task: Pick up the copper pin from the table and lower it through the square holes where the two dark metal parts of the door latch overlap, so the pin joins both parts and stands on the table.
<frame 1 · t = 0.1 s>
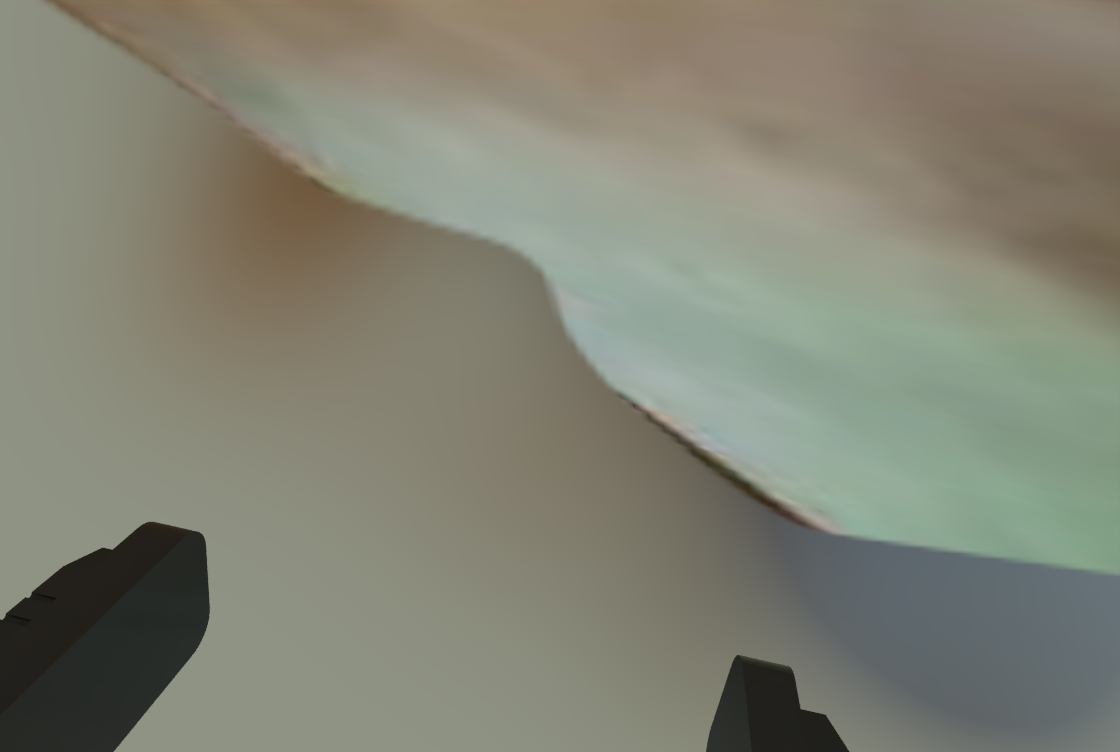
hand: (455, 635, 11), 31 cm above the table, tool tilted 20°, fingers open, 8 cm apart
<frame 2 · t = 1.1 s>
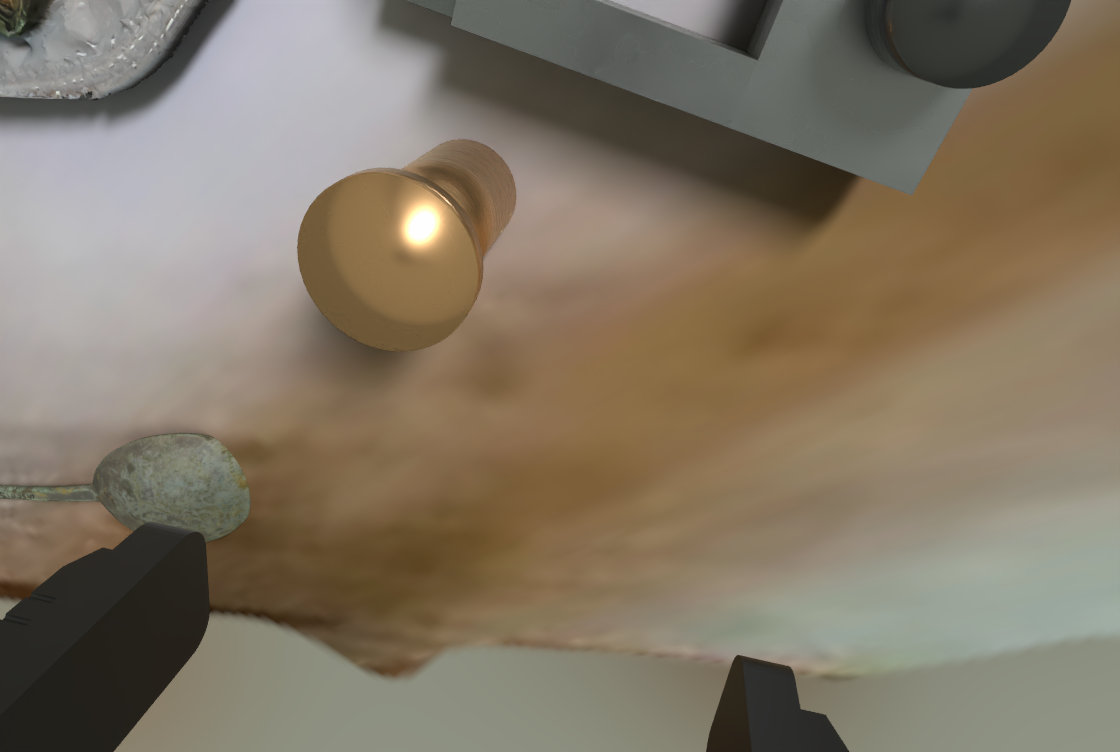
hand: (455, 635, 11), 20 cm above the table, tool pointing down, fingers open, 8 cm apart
soupspoon: (66, 469, 39), on the table
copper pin: (465, 192, 29), on the table
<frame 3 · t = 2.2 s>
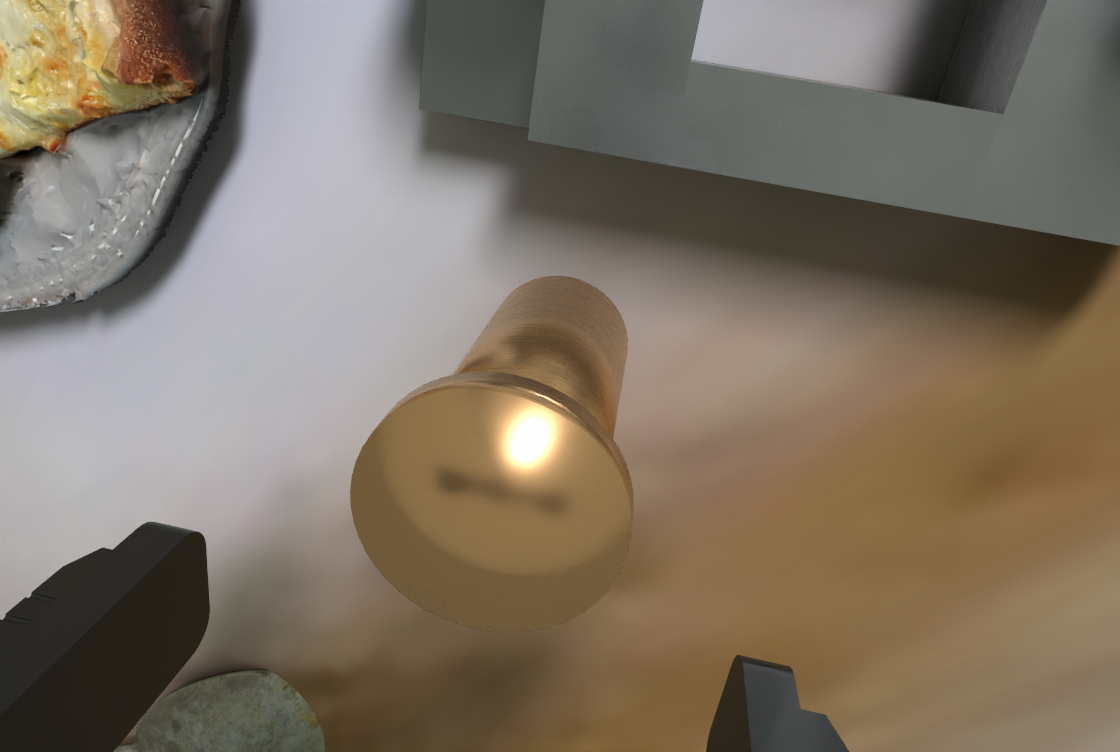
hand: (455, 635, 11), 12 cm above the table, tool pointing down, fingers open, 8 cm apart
soupspoon: (108, 719, 33), on the table
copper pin: (559, 342, 22), on the table
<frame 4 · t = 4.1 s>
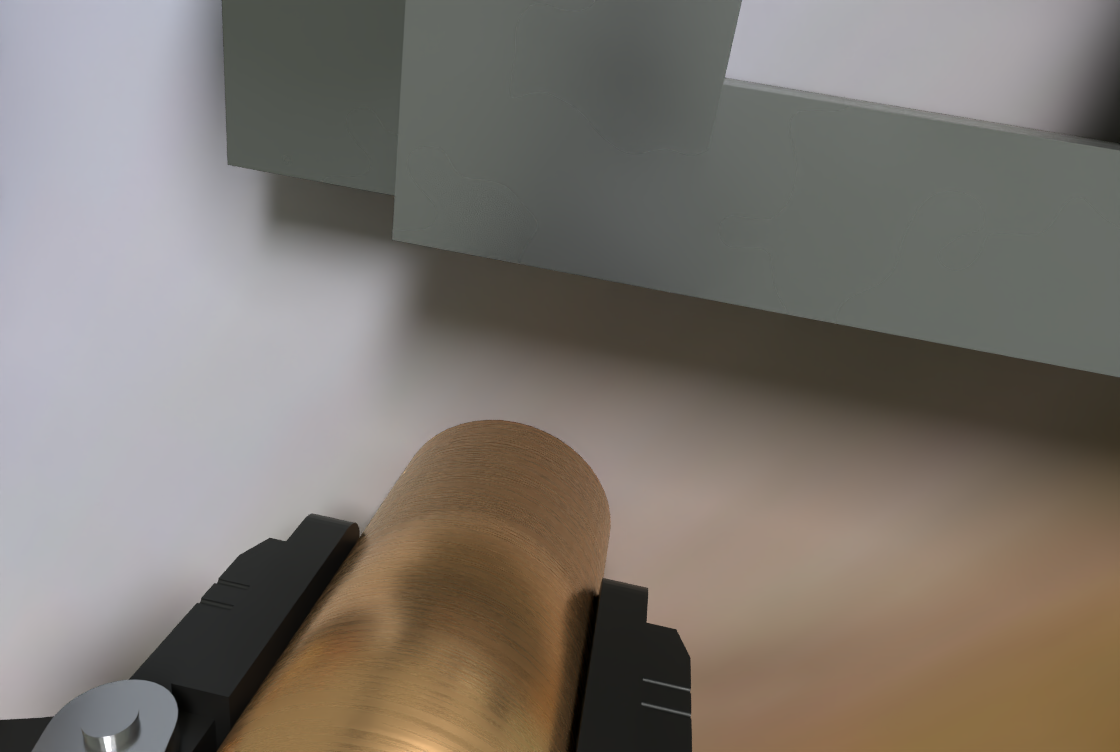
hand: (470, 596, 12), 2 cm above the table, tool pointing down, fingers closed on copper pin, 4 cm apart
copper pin: (503, 516, 14), on the table, touching gripper
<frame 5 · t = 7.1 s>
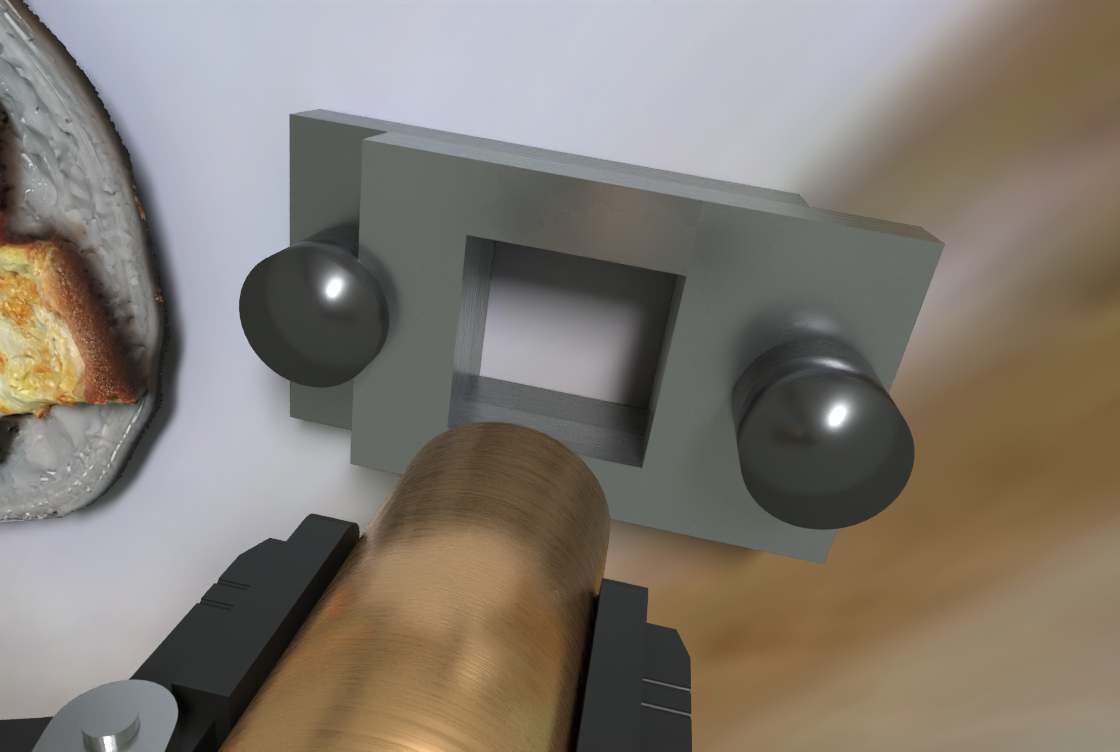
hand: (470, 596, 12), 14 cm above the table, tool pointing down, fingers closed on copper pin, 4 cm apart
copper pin: (503, 517, 14), point 12 cm above the table, touching gripper
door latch: (576, 312, 25), on the table
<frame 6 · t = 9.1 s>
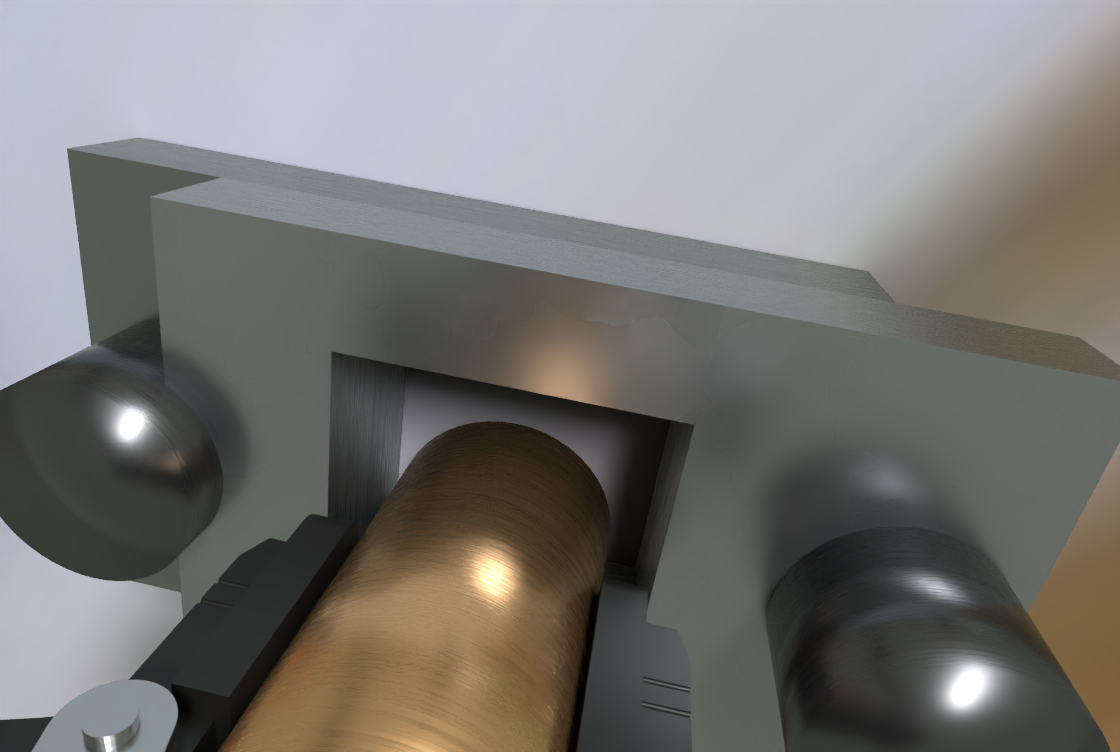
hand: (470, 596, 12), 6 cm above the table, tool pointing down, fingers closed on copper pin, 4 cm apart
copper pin: (503, 517, 14), point 3 cm above the table, touching gripper
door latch: (530, 433, 17), on the table
when the fingers open (5 cm above the table, at t = 10.0 s): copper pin drops 2 cm, resting in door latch.
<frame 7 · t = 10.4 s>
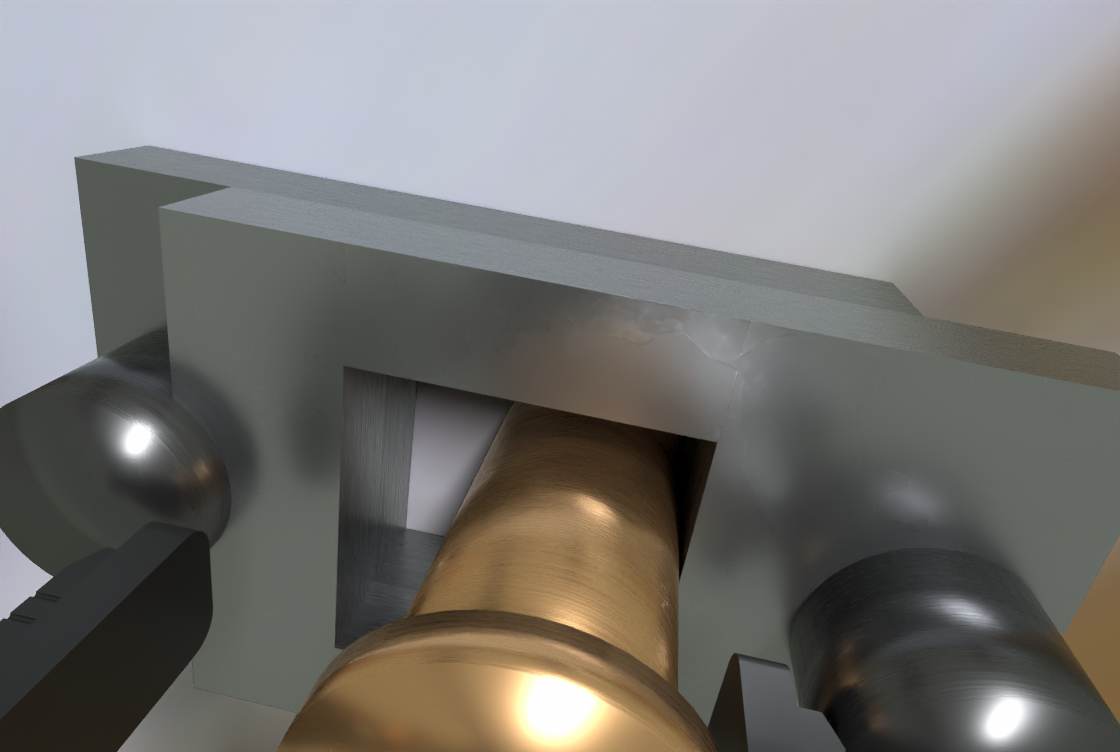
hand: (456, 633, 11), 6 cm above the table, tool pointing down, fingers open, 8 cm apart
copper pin: (588, 453, 16), resting in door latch
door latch: (543, 446, 16), on the table
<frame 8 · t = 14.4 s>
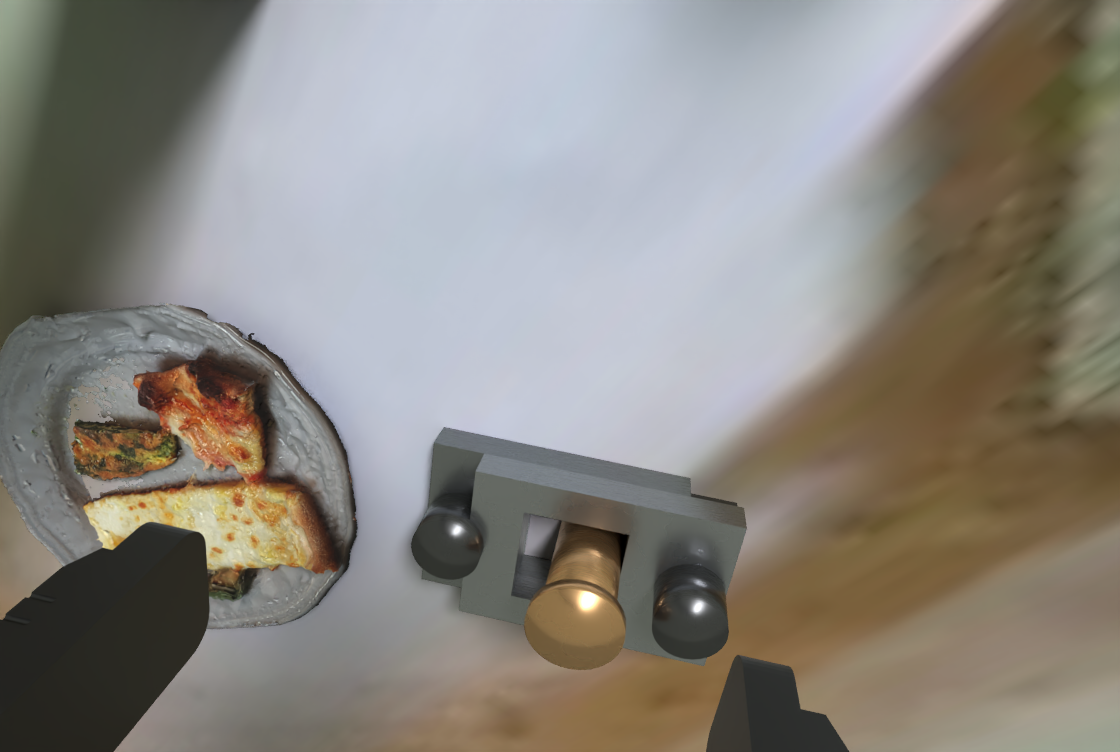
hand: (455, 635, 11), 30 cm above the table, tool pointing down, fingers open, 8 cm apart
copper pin: (592, 528, 46), resting in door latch
food plate: (191, 465, 49), on the table
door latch: (577, 526, 46), on the table
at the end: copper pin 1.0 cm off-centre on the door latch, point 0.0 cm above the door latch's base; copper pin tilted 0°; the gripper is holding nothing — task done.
